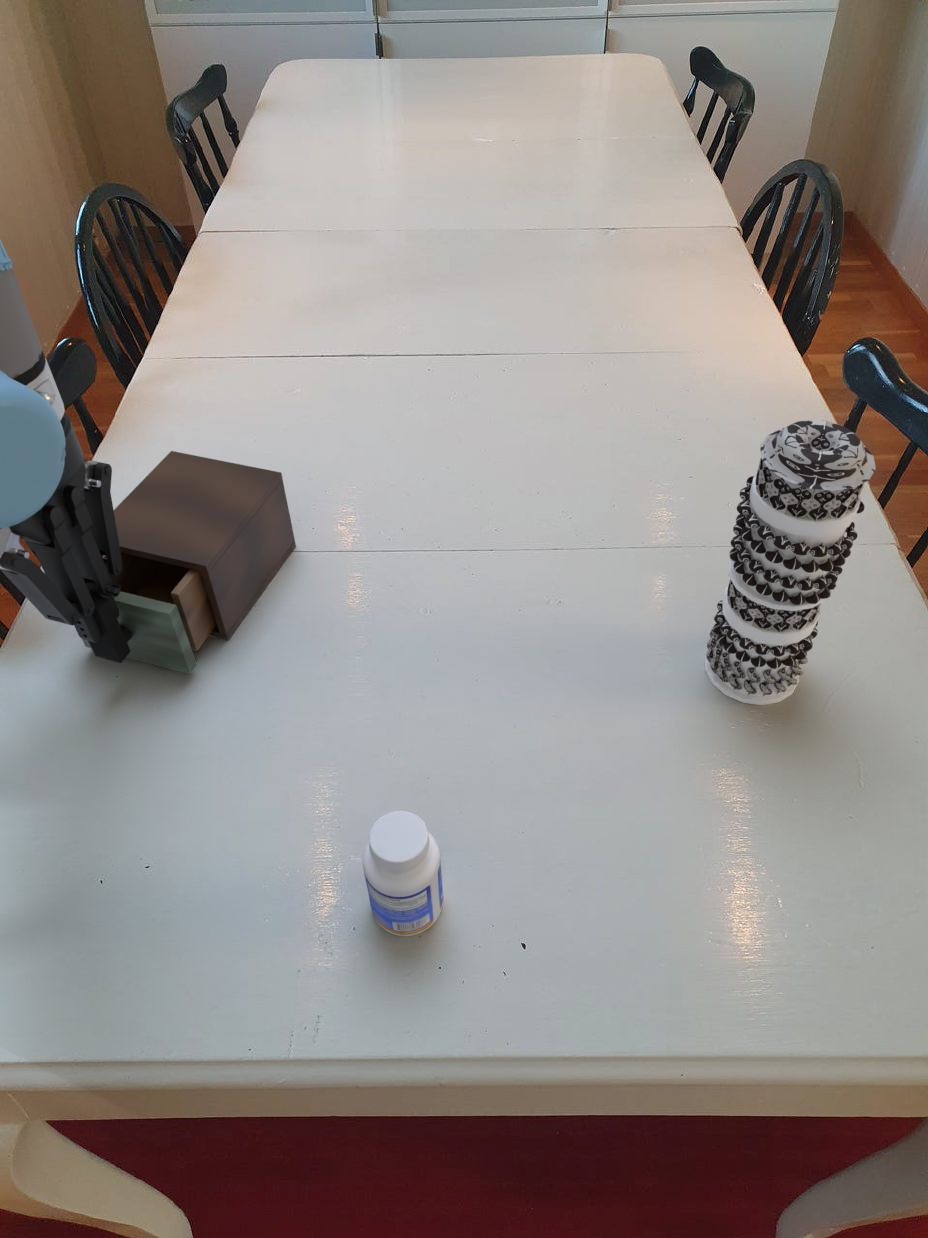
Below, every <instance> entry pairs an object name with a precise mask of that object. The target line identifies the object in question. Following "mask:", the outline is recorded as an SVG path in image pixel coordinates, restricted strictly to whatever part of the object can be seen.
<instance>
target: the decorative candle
mask: <svg viewBox="0 0 928 1238" xmlns="http://www.w3.org/2000/svg"><path fill="white" fill-rule="evenodd" d="M759 449H760V459H759V462H758V467H757V472H756V473H755V474H754V475H752V476H751V475H750V476H749V477H748V478H747V479H746V482H745V483H746V484H745V485H746V486H745V487H743V488H741V490H740V491H739V497H740V499H741V500H742V501H740V502H739V503H738V504H737V506H736V511H737V513H738V514H737V516H736V518H735V525H734V526H733V528H732V531H733V533H734V535H735V536H733V537H732V538H731V540H730V545H731V547H732V548H731V549H730V551H729V555H728V556H729V559H728V563H727V565H728V567H727V568H728V569H727V570H728V578H729V581H728V584H727V585H726V587H725V588H724V592H723V597H722V600H720V601H718V603H717V605H716V607H717V608H716V609H717V610H718V611H717V612H716V614H715V615H714V617H713V621H714V622H715V624H713V626H712V627H711V629H710V630H709V637H710V638H709V639H708V642H707V644H706V648H707V650H706V654H705V656H704V672H705V674H706V675H707V677H708V679H709V681H710V683H711V684H712V686H714V687H715V688H716V689H717V690H719V691H720V692H721V693H722V694H723V695H724V696H726V697H729V698H731V699H733V700H735V701H738V702H740V703H743V704H748V705H749V704H750V705H757V706H765V705H771V704H777V703H780V702H782V701H784V700H786V698H788V697H790V696H792V695H793V694H794V691H795V689H796V688H797V686H798V684H799V682H800V676H803V674H804V670H803V669H802V668H801V667H800V665H806V664H808V661H809V659H808V658H807V656H808V653H809V652H810V651H811V650H812V648H813V645H814V642H812V641H813V639H815V638H817V636H818V633H819V632H818V629H817V626H818V624H819V618H820V615H821V606H822V605H821V604H822V603H823V602H826V601H827V600H828V598H830V597H831V596H832V591H833V590H835V588H836V587H837V582H838V578H839V576H840V575H841V574H842V573H843V567H842V566H844V565H845V564H846V561H847V560H846V559H847V558H848V557H850V556H851V555H852V550H851V549H852V547H853V545H854V541H855V540H857V538H858V533H857V531H856V530H855V528H856V527H855V526H856V525H855V522H854V519H855V517H856V515H857V514H861V513H863V512H864V511H865V508H866V507H865V504H864V502H863V501H862V500H861V493H862V491H863V489H864V487H865V483H867V482H868V481H870V480H871V478H872V476H873V474H874V473H875V471H876V469H877V468H876V462H875V457H874V455H873V453H872V452H871V451H870V450H869V449H868V448H867V447H866V446H865V445H864V443H863V441H862V440H861V439H860V438H859V436H857V435H856V433H855V432H853V430H850V429H849V428H847V427H845V426H843V425H841V424H838V423H835V422H832V421H829V420H821V419H807V420H800V421H796V422H793V423H791V424H789V425H787V426H785V427H782V428H780V429H779V430H776V431H774V432H772V433H770V434H768V435H766V437H765V438H764V440H763V441H762V442H761V444H760V446H759ZM845 534H846V536H845Z"/></svg>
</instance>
